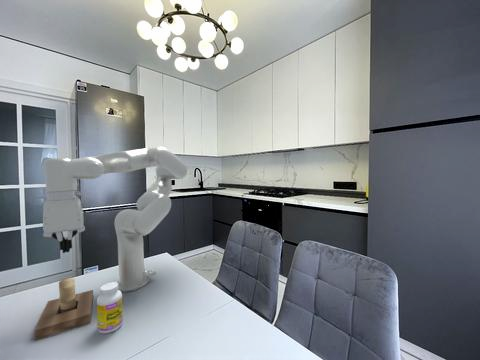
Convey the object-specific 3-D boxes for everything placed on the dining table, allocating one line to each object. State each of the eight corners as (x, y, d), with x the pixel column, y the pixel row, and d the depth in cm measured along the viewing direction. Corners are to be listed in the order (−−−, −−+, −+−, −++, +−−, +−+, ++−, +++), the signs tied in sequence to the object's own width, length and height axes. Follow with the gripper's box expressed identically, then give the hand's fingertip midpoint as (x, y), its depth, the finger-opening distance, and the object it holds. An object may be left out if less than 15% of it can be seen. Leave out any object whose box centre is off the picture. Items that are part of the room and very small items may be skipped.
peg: (77, 310, 74) (75, 276, 74) (75, 317, 71) (73, 281, 70) (62, 314, 72) (59, 279, 72) (59, 322, 69) (57, 285, 68)
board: (93, 297, 82) (93, 289, 82) (90, 323, 68) (90, 314, 68) (48, 309, 75) (47, 301, 75) (35, 340, 61) (34, 330, 61)
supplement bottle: (105, 338, 62) (102, 294, 61) (93, 329, 66) (91, 288, 65) (127, 323, 68) (125, 283, 67) (116, 316, 71) (114, 278, 71)
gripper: (90, 193, 77) (94, 243, 78) (34, 197, 69) (39, 252, 71) (89, 195, 71) (93, 249, 72) (27, 200, 63) (32, 261, 64)
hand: (66, 251), depth 71 cm, fingers closed
